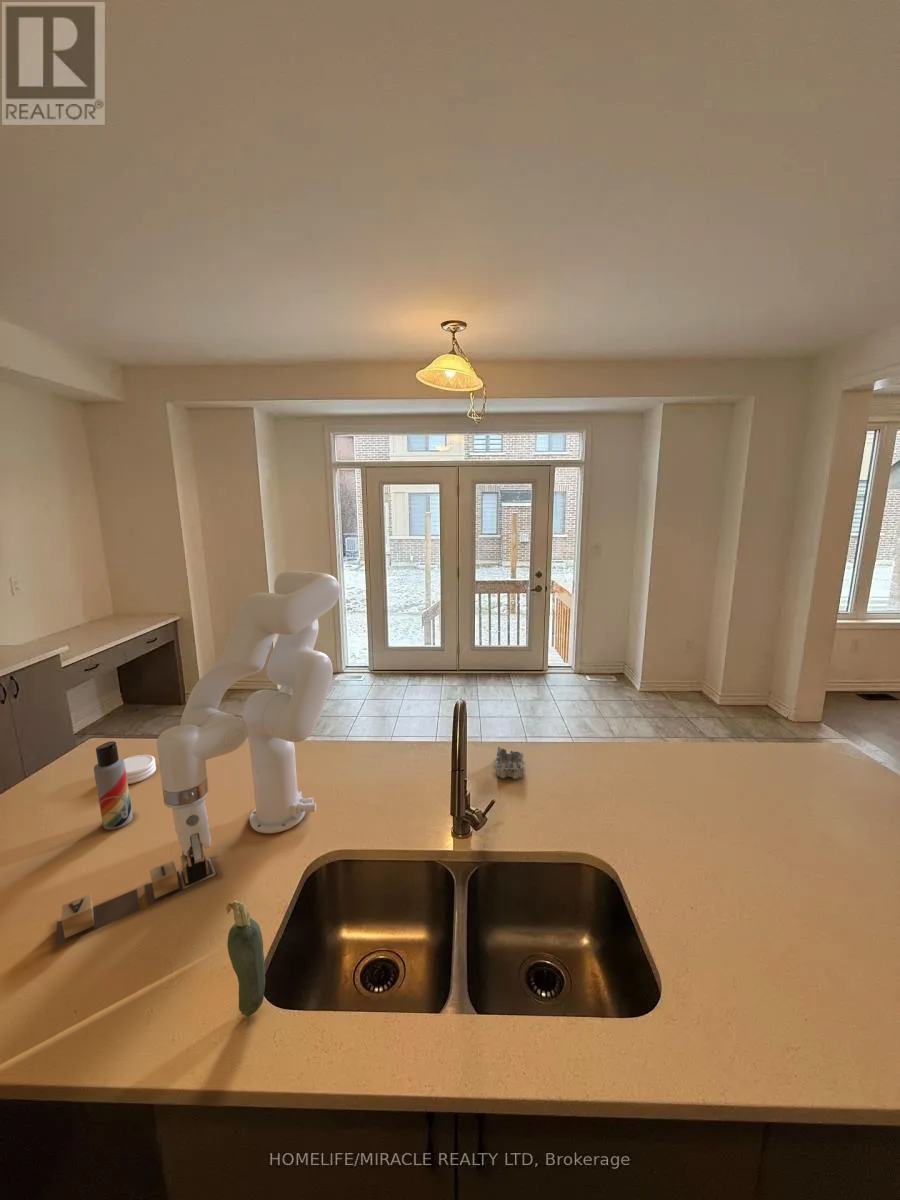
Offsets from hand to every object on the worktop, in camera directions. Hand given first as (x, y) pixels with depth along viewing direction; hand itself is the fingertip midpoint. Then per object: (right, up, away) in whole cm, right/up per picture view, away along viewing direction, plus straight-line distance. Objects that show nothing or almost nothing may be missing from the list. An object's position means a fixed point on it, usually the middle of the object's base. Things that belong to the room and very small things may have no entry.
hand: (195, 871), depth 92 cm
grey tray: (-2, -1, -1) cm, 3 cm away
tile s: (0, 0, 0) cm, 0 cm away
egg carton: (+68, +6, +38) cm, 78 cm away
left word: (-12, -3, -9) cm, 16 cm away
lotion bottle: (-27, +2, +16) cm, 32 cm away
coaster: (-36, +6, +35) cm, 51 cm away
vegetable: (+22, -6, -25) cm, 34 cm away
